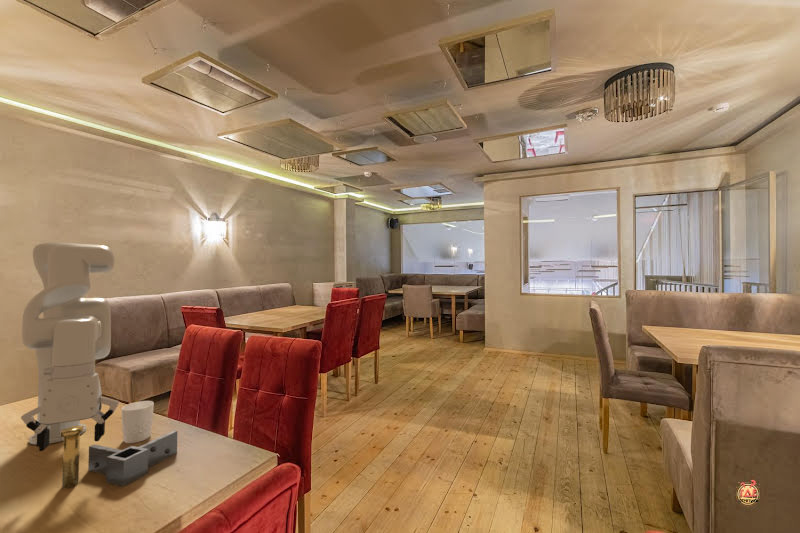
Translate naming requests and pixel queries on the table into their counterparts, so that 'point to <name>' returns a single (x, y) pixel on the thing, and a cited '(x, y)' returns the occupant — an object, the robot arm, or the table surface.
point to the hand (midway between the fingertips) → (71, 443)
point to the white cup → (137, 421)
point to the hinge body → (130, 459)
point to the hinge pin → (71, 455)
